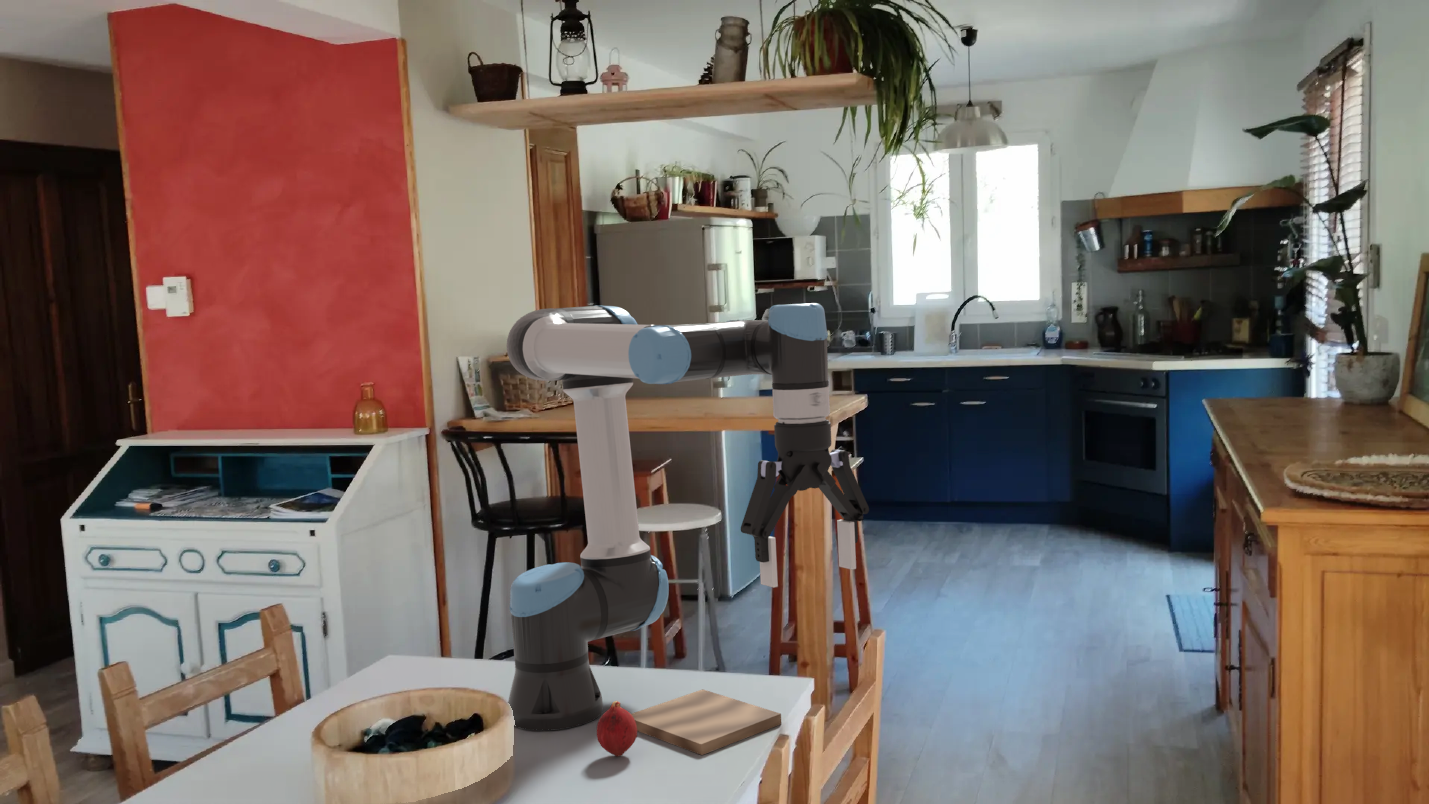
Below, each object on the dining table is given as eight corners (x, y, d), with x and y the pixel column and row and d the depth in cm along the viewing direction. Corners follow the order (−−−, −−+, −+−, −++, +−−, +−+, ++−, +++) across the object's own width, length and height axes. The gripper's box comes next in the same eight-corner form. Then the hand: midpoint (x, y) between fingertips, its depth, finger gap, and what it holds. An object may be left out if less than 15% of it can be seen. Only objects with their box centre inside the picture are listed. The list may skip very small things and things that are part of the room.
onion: (632, 764, 163) (628, 709, 162) (593, 763, 164) (589, 708, 163) (643, 749, 168) (639, 695, 168) (605, 748, 170) (601, 694, 169)
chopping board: (624, 726, 178) (624, 716, 178) (703, 698, 189) (702, 689, 189) (701, 755, 165) (701, 744, 164) (781, 723, 175) (780, 713, 175)
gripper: (743, 431, 144) (751, 598, 146) (890, 412, 158) (896, 564, 160) (709, 427, 150) (717, 588, 152) (853, 409, 164) (860, 556, 166)
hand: (809, 576), depth 156 cm, fingers open, 13 cm apart
